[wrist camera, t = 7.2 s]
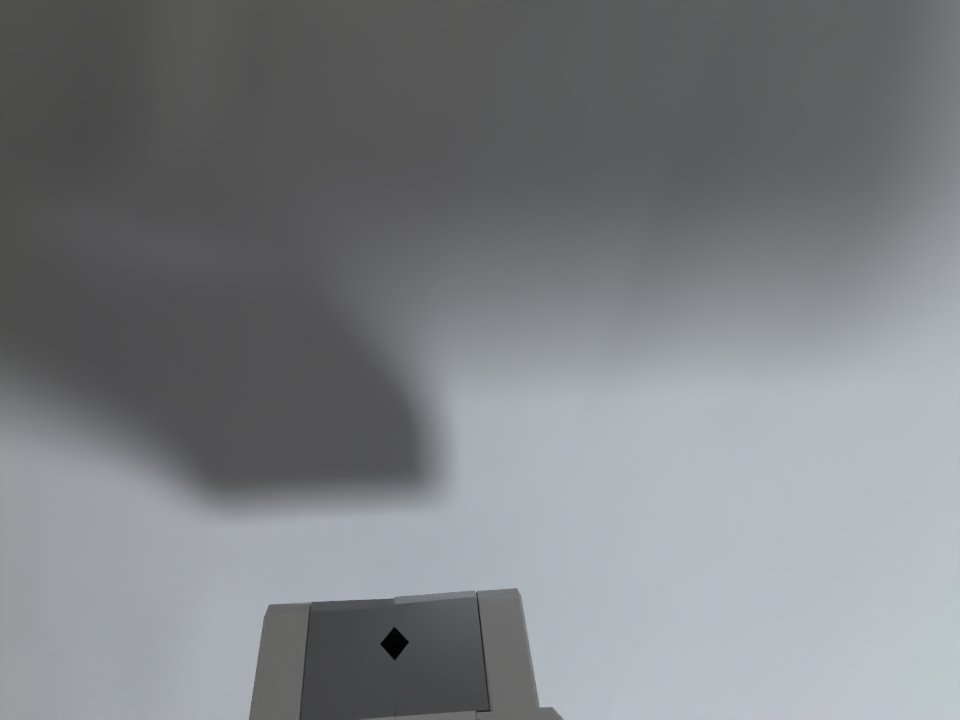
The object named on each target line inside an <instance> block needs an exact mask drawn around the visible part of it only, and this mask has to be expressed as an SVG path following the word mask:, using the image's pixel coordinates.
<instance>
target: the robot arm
mask: <svg viewBox="0 0 960 720" xmlns="http://www.w3.org/2000/svg"><path fill="white" fill-rule="evenodd" d="M249 720H564V719H563V718H562V717H561V716H560V715H559V714H558V713H557V712H556V711H555V710H554V708H553V707H541V708H540V706H539V700H538V695H537V689H536V683H535V677H534V671H533V665H532V659H531V653H530V647H529V641H528V635H527V629H526V623H525V617H524V611H523V605H522V599H521V595H520V593H519V591H518V590H517V588H515V589H501V590H486V591H477V592H476V593H475V591H463V592H451V593H438V594H426V595H414V596H401V597H395V599H371V600H348V601H324V602H308V603H290V604H271V605H269V606H268V609H267V611H266V614H265V616H264V621H263V627H262V634H261V641H260V648H259V655H258V662H257V668H256V675H255V682H254V689H253V696H252V702H251V709H250V716H249Z"/></svg>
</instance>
